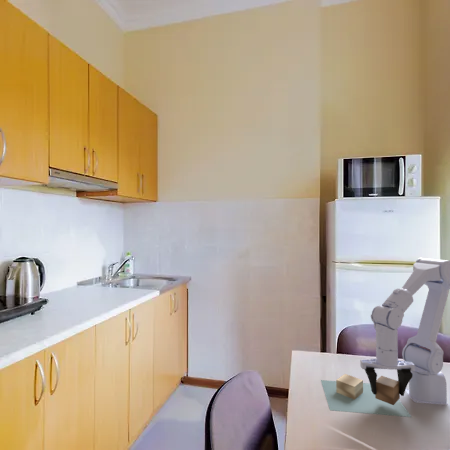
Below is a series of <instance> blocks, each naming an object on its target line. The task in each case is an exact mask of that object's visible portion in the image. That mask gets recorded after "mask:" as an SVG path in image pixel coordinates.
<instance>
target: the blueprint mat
mask: <svg viewBox="0 0 450 450" xmlns="http://www.w3.org/2000/svg"><path fill="white" fill-rule="evenodd" d="M320 382H321V386H322V388H323V392H324V394H325V395H324V396H325V400H326V402H327V405H328V408H329V411H335V412H345V413H347V412H348V413H359V414H369V415H370V414H372V415H380V416H381V415H382V416H395V417H407V418H412V415H411V414H410V412H409V411H408V410H407V409H406V407H405V406H404V405H403V403H402V401H401V400H400V399H399V400H398V401H397V402H396V403H395V404H394V405H392V404H389V403H386V402H384V401H381V400H379V399H376V398H375V394H373V392H372V391H371V385H370V382H369V383H367V382H363V393H362V394H361V395H360V396H359V397H357V398H356V399H355V400H354V399H352V398H349V397H347V396H344V395H342V394H339V393H337V392H336V380H323V379H321V380H320Z"/></svg>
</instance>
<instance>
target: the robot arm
mask: <svg viewBox="0 0 450 450" xmlns="http://www.w3.org/2000/svg"><path fill="white" fill-rule="evenodd" d="M424 285H426V286H427V288H428V293H427V295H426V300H425V302H424V303H425V304H424V307H423V311H422V314H421V318H420V322H419V326H418V329H417V333H416V335H414V336H411V337H409V338H407V342H406V344H405V346H404V347H403V348H402V352H401V355H402V359H403V360H399V348H398V347H399V343H398V342H399V341H398V339H399V337H398V335H399V334H398V328H399V327H401V326H402V323H403V319H404V317H405V312H406V311H407V310H408V309H409V307H410V306H412V304H413V302H414V297H413V296H414V295H415V294H416V293H418V291H419V290H420V289H421V288H422V287H423V286H424ZM449 293H450V260H449V259H446V260H445V259H435V258H424V257H419V258H417V259H416V261H415V263H413V266H412V273H411V274H410V276H408V279H407V280H406V282H405V283H404V284H403V286H402V287H401V288H394V290H393V291H392V292H391V294H390V295H389V296H388V297H387V298H386V299H385V301H383V303H382V304H378V305H376V306H375V307H374V308H373V309H372V311H371V314H370V319H371V321H372V323H373V328H374V329H375V357H376V358H371V359H370V358H369V359H360V367H361V369H362V370H364V371H365V374H366V377H367V378H368V381H369V383H370V385H371V391H372V392H373V394H376V380H377V379H378V378H377V377H378V374H377V372H376V370H375V369H378V370H379V369H380V370H395V371H396V372H397V381H399V385H400V396H401V397H404V396H405V393H406V394H407V395H408V396H409V398H410V399H411V400H412V401H413V403H418V404H419V403H420V404H433V405H442V406H443V405H444V406H445V405H446V406H448V404H449V403H448V401H447V400H448V398H447V397H448V395H447V380H446V376H445V374H444V373H443V372H442V369H443V367H444V353H445V352H444V350H443V349H442V347H441V346H440V345H439V344H438V342H437V339H438V335H439V332H440V327H441V324H442V320H443V317H444V316H443V315H444V312H445V307H446V304H447V300H448V296H449ZM425 348H426V349H425ZM407 387H408V388H407Z"/></svg>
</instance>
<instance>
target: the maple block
mask: <svg viewBox="0 0 450 450" xmlns="http://www.w3.org/2000/svg"><path fill="white" fill-rule="evenodd" d="M335 381H336V392H337V393H339V394H342V395H344V396H347V397H349V398H352V399H354V400H355V399H356V398H357V397H359V396H360V395H361V394H362V393H363V383H364V379H361V378H358V377H355V376H352V375H350V374H346V373H344V374H343V375H341V376H340V377H339V378H336V380H335Z"/></svg>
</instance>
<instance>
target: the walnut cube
mask: <svg viewBox="0 0 450 450" xmlns="http://www.w3.org/2000/svg"><path fill="white" fill-rule="evenodd" d="M400 396H401V395H400V385H399V381H398V380H396V379H393V378H390V377H386V376H384V375H381V376H379V377H378V378H377V379H376V394H375V398H376V399H379V400H381V401H384V402H386V403H389V404H392V405H394V404H395V403H396V402H397V401H398V400H400Z"/></svg>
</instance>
